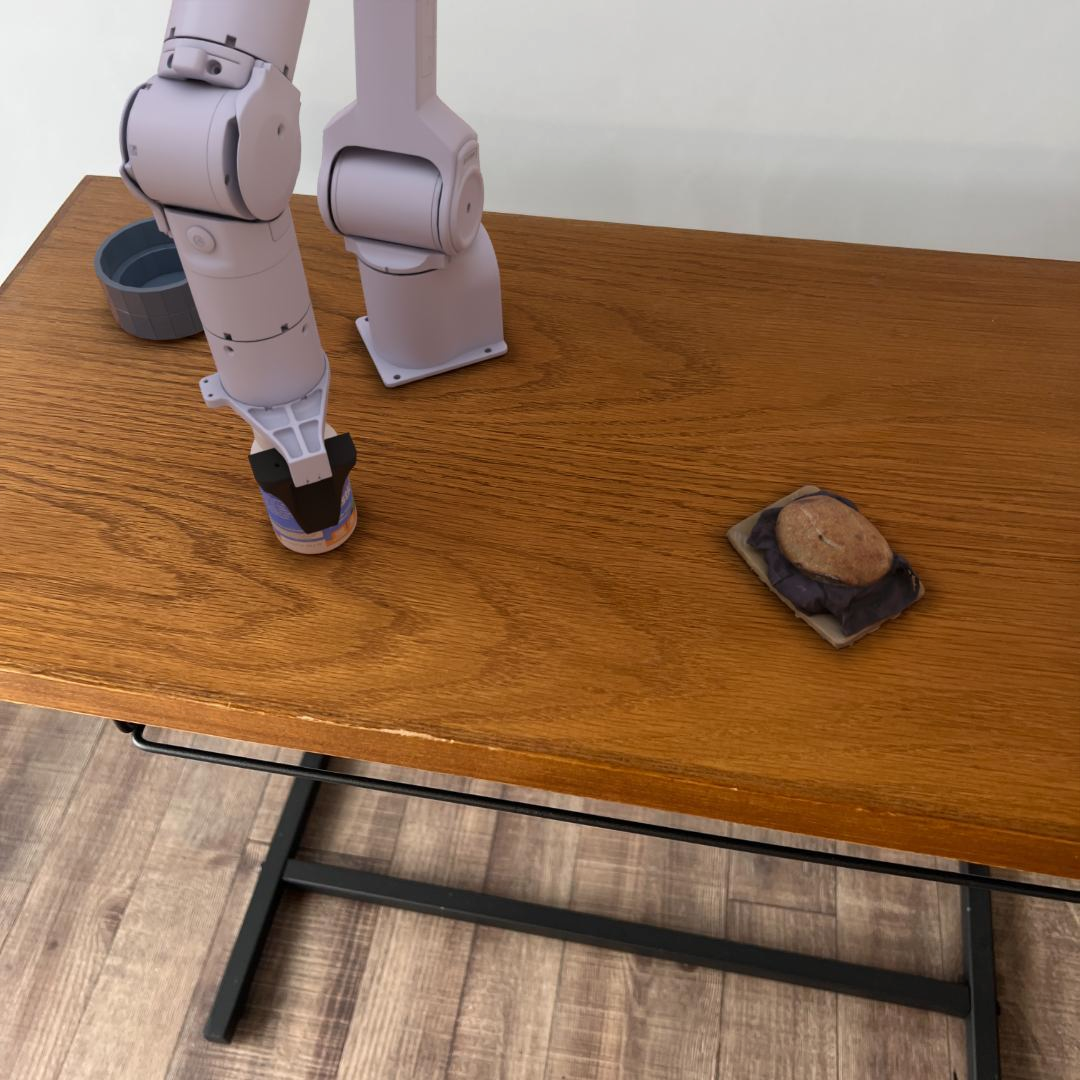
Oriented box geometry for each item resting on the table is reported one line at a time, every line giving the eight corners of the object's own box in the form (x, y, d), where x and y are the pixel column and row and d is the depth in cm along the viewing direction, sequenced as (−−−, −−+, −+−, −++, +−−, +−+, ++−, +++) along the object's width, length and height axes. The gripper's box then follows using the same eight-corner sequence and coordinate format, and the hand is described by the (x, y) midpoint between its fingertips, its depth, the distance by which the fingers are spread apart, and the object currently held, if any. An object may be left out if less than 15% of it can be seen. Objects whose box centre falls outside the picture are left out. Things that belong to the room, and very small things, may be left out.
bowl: (223, 256, 88) (207, 202, 84) (250, 325, 83) (235, 271, 79) (106, 286, 86) (85, 232, 82) (126, 358, 80) (104, 305, 77)
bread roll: (716, 540, 69) (722, 502, 66) (817, 485, 71) (827, 446, 68) (830, 658, 63) (842, 622, 60) (935, 593, 66) (952, 556, 63)
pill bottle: (351, 557, 68) (324, 451, 61) (266, 556, 68) (229, 449, 61) (364, 493, 72) (340, 384, 64) (283, 491, 72) (250, 383, 64)
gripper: (153, 248, 60) (215, 424, 70) (208, 418, 51) (269, 589, 62) (278, 217, 61) (320, 393, 72) (351, 376, 53) (387, 550, 63)
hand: (304, 482), depth 67 cm, fingers open, 7 cm apart
